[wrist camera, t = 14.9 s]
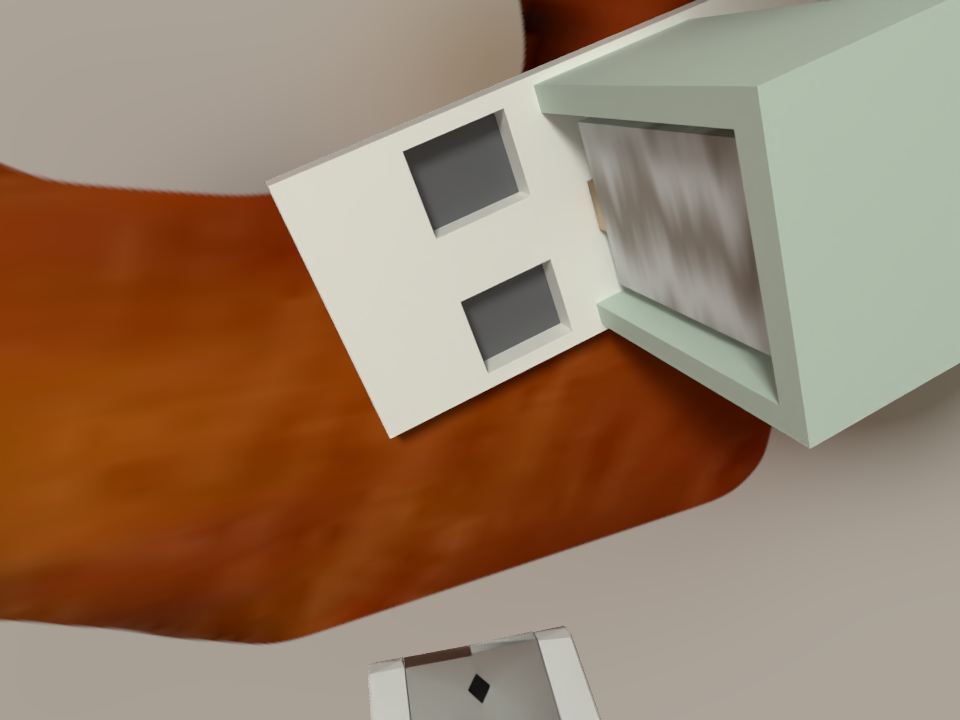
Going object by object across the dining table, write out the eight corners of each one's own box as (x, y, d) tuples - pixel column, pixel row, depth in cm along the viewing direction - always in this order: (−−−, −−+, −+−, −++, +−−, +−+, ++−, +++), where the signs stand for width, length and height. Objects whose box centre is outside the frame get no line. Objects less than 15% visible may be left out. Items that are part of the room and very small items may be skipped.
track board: (264, 181, 37) (267, 186, 35) (816, -51, 43) (842, -57, 42) (382, 424, 44) (390, 439, 42) (841, 195, 51) (864, 199, 49)
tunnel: (533, 85, 38) (757, 86, 23) (688, 19, 40) (992, -21, 25) (601, 324, 45) (809, 448, 30) (731, 258, 47) (991, 344, 31)
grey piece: (570, 121, 39) (735, 138, 27) (869, -11, 43) (1130, -47, 31) (613, 281, 44) (771, 356, 32) (880, 149, 47) (1112, 172, 35)
